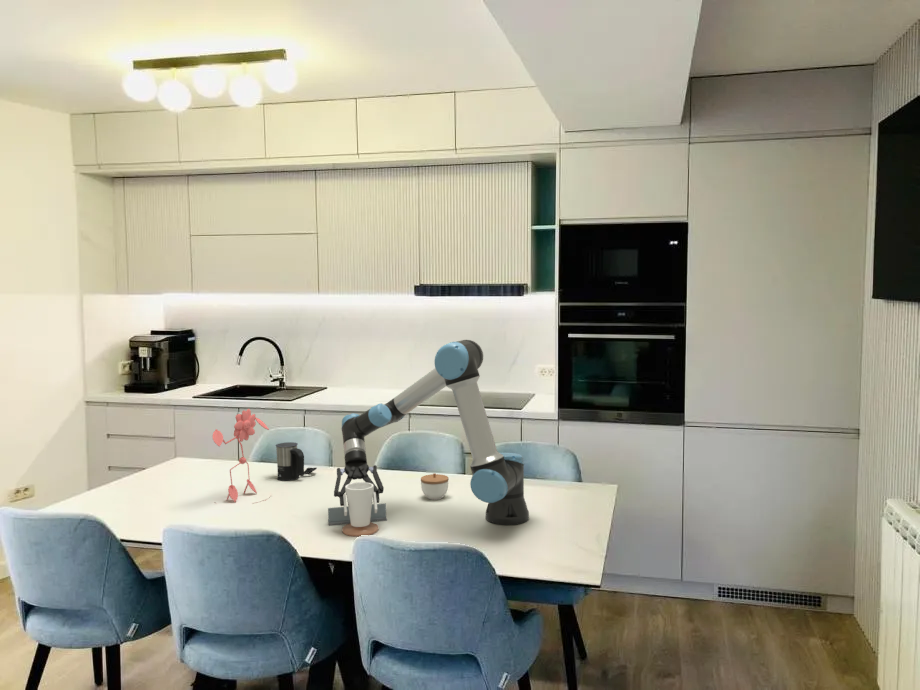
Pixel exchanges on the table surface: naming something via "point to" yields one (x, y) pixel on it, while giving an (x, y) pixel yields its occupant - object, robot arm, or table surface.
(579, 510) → the table surface
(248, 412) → the figurine
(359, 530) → the terracotta coaster
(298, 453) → the milk frother
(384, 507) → the low wall
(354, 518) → the foam cup
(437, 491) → the lidded jar
